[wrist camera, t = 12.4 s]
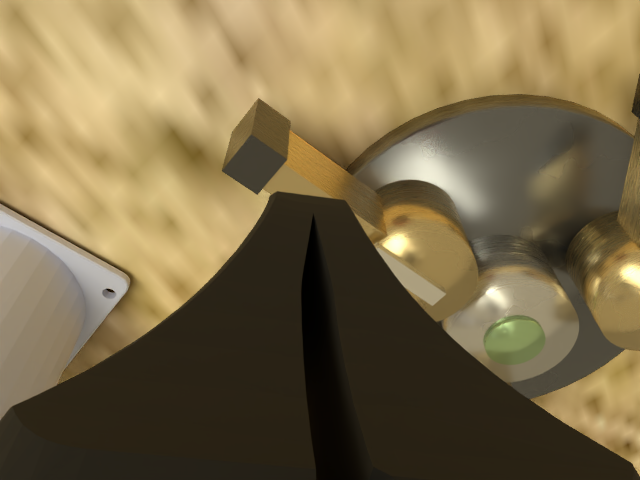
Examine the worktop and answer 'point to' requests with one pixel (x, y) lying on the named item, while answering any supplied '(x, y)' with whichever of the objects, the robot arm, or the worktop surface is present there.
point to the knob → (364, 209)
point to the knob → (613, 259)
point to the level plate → (517, 223)
